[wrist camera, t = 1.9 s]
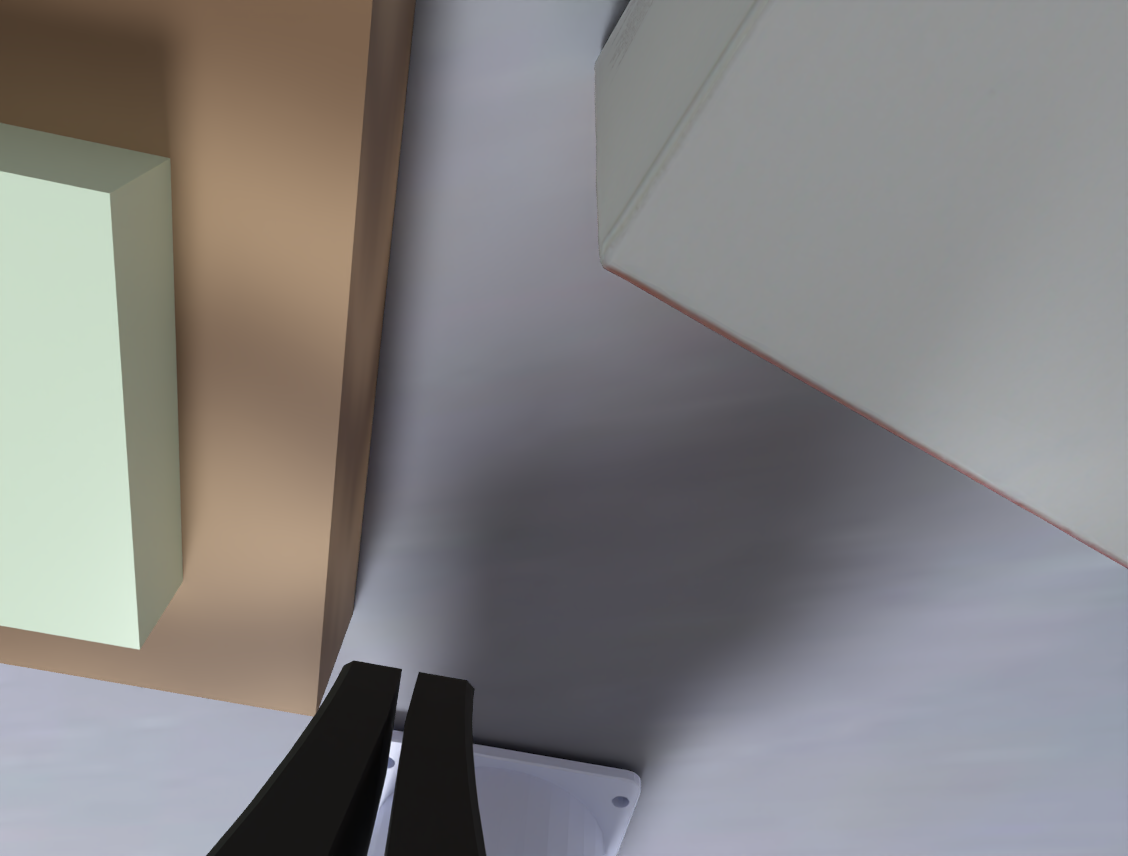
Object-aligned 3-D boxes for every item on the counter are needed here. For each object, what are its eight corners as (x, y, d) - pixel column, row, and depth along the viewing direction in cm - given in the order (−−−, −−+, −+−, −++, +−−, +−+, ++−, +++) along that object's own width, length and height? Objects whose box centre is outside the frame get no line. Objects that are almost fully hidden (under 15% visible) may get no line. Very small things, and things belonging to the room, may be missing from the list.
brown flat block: (352, 613, 24) (315, 716, 21) (-188, 516, 23) (-309, 610, 20) (421, -53, 16) (375, -43, 13) (-414, -244, 15) (-678, -281, 12)
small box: (588, 65, 16) (565, 262, 7) (774, -262, 14) (1083, -565, 5) (918, 278, 18) (1222, 645, 9) (1136, 25, 16) (1849, 190, 7)
